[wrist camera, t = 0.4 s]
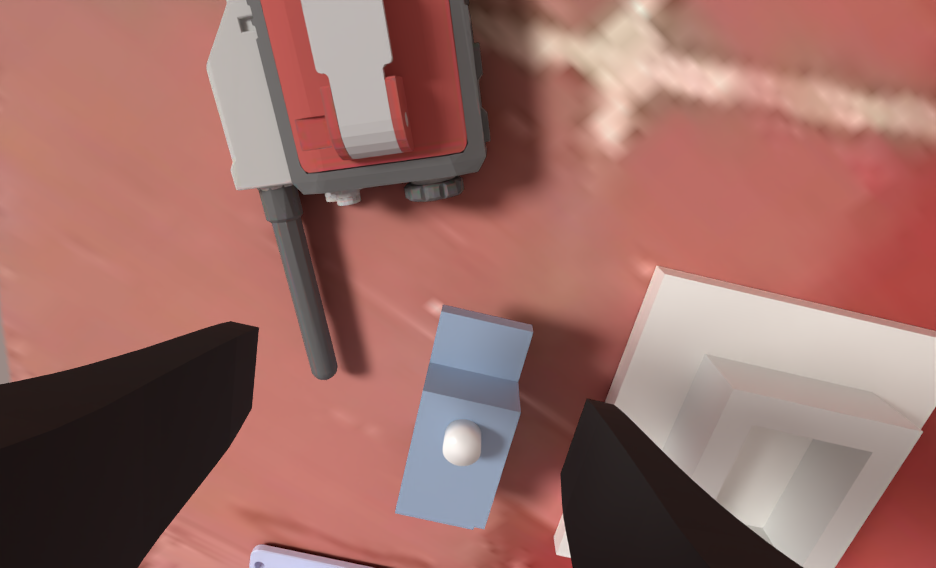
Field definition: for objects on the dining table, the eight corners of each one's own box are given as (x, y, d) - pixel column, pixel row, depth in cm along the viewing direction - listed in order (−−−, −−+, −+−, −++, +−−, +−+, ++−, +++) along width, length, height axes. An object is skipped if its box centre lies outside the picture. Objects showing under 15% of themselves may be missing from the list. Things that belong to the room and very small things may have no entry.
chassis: (793, 588, 25) (839, 663, 22) (553, 537, 24) (563, 605, 21) (952, 334, 20) (1042, 381, 17) (656, 265, 20) (689, 299, 16)
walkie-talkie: (154, -220, 15) (312, 364, 22) (31, -335, 11) (271, 426, 18) (442, -280, 15) (514, 343, 21) (422, -427, 11) (520, 403, 17)
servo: (475, 475, 23) (470, 589, 18) (407, 460, 23) (381, 571, 18) (527, 297, 20) (539, 371, 15) (449, 279, 20) (432, 347, 15)
